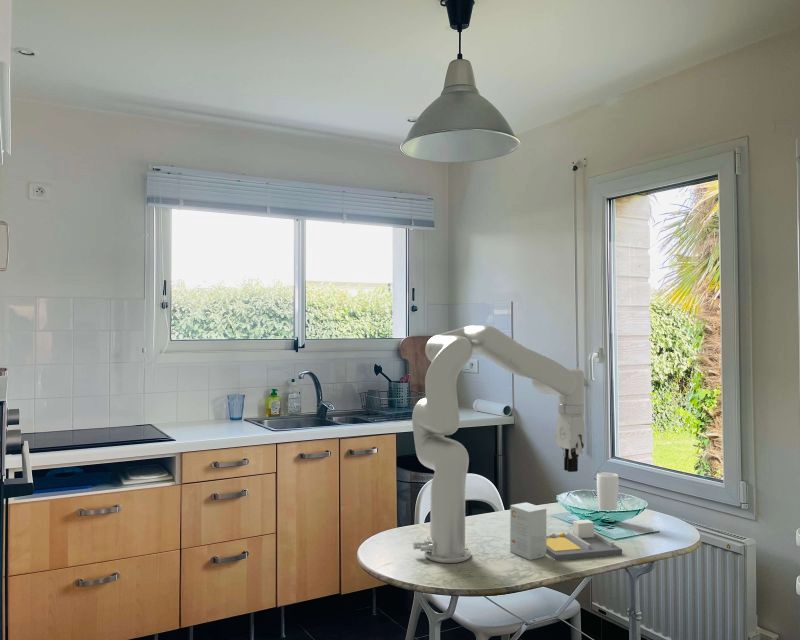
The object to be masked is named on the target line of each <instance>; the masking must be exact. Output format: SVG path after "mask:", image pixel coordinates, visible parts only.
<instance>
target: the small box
mask: <svg viewBox="0 0 800 640" xmlns="http://www.w3.org/2000/svg"><path fill="white" fill-rule="evenodd" d="M509 525H510V528H509V529H510V531H509V532H510V536H509V537H510V542H509V549H510V550H509V551H510V553H513V554H515V555H518V556H520V557H522V558H524V559H527V560H529V561H531V560H536V559H540V558H543V557H547V556H548V554H546V536H547V508H544V507H542V506H538V505H536V504H534V503H533V504H532V503H529V502H528V501H527V502H521V503H515V504H510V523H509Z"/></svg>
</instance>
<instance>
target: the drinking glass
mask: <svg viewBox="0 0 800 640" xmlns="http://www.w3.org/2000/svg"><path fill="white" fill-rule="evenodd" d="M619 478H620V477H619V474H618V473H614V472H606V471H605V472H603V471H602V472H597V473H596V494H597V496H596V497H597V505H598V506H597V507H598V510H599V509H600V510H617V508H618V499H619V498H618V497H619V488H620V486H619V484H620V480H619ZM617 511H618V510H617Z"/></svg>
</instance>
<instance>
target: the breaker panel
mask: <svg viewBox="0 0 800 640" xmlns="http://www.w3.org/2000/svg"><path fill="white" fill-rule="evenodd" d="M546 554H547V556H549V557H551V559H553V560H554V559H555V560H554V561H557V560H558V561H567V559H568V560H575V559H576V560H578V558H579V559H588V558H598V557H609V556H611V557H612V556H622V555H623V549H622V547H620V546H618V545H617V544H615V542H613V541H612V540H609V538H606V537H605V536H603V535H601V534H599V533H598V532H596V531H594V537H588V538H579V537H577V536H576V535H574V534H573V532H571V531H568V532H567V534H566V532H561V531H560V532H559V533H558V534H557V535H556V533H555V532H550V533H549V535H546Z"/></svg>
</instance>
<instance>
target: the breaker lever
mask: <svg viewBox="0 0 800 640" xmlns="http://www.w3.org/2000/svg"><path fill="white" fill-rule="evenodd" d="M594 532H595V523H594V521H592V520H590V519H579V520H578V519H577V520H572V534H574V535H576V536H577V537H579V538H588V537H594Z"/></svg>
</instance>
